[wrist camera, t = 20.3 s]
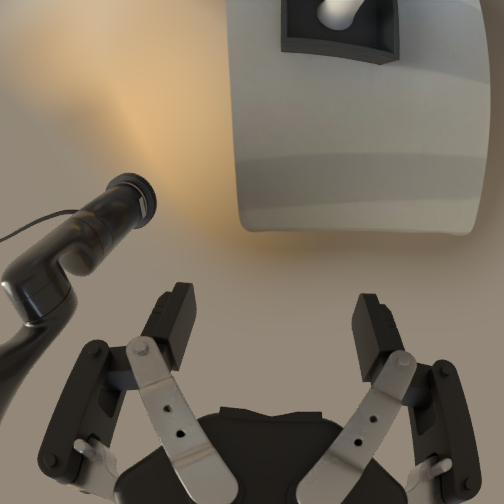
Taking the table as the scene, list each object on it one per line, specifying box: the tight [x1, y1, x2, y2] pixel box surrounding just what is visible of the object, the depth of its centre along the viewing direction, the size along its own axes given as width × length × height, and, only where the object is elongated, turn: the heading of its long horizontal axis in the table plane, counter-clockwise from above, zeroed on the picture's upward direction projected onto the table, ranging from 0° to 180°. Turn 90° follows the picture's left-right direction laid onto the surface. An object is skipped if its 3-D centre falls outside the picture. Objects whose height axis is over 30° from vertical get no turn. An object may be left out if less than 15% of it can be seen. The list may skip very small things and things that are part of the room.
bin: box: [281, 0, 399, 65], centre depth 28 cm, size 17×17×9 cm
